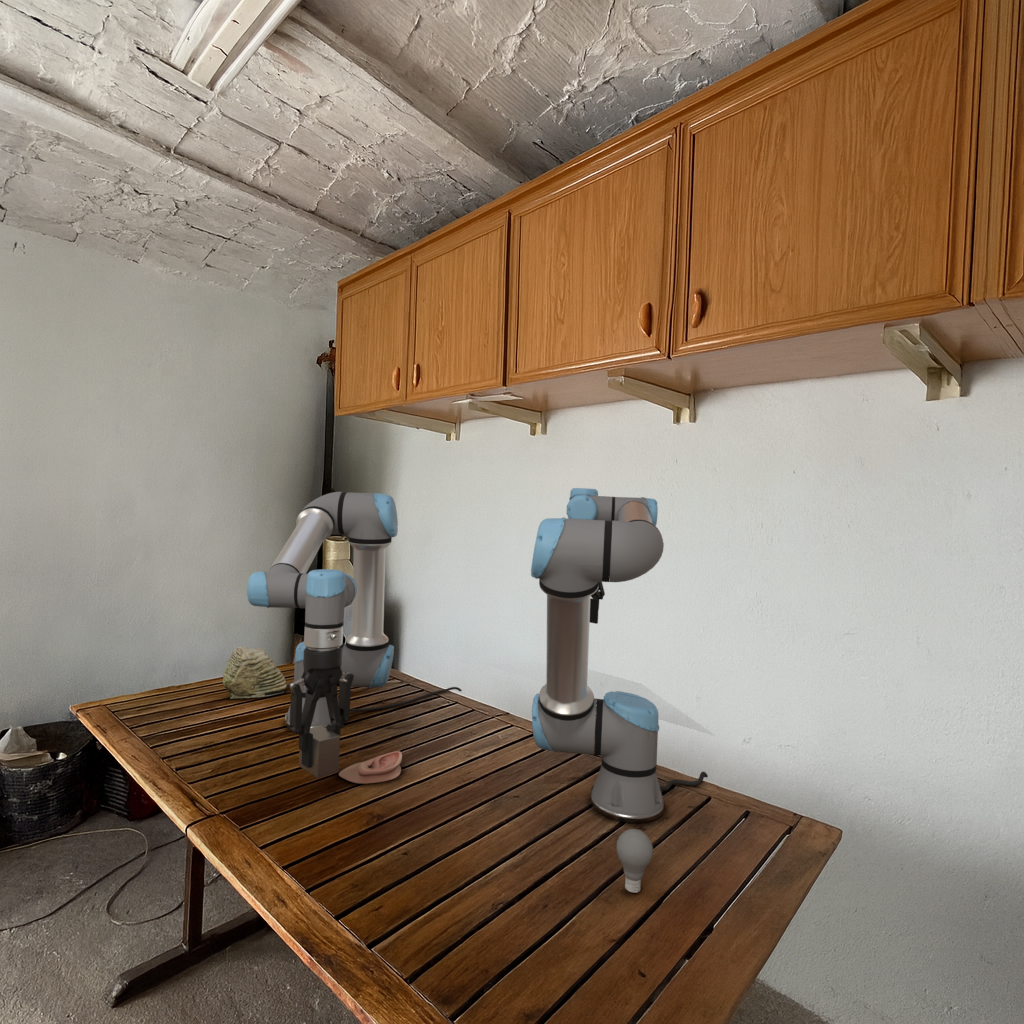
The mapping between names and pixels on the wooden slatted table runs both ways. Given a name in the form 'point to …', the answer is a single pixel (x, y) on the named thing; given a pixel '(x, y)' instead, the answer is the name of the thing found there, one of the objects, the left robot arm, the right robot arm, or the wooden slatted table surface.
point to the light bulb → (634, 857)
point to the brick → (323, 752)
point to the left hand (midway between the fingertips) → (318, 761)
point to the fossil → (252, 674)
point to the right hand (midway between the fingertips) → (578, 625)
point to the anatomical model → (374, 769)
